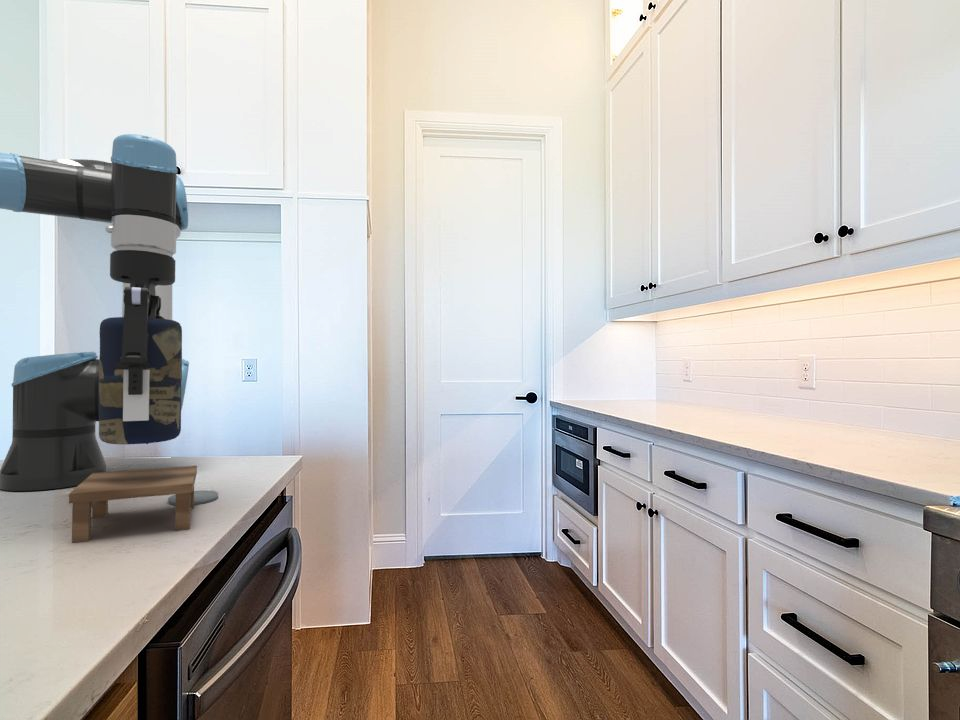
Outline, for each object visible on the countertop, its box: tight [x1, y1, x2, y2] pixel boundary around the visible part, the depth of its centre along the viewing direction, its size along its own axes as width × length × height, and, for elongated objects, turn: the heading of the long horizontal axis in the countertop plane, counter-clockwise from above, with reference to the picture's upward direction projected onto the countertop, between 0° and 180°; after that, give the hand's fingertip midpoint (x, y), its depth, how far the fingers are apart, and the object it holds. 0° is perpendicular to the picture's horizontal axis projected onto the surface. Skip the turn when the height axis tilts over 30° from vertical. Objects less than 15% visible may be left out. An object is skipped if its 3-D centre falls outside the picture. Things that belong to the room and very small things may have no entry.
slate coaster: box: [167, 490, 219, 506], centre depth 83 cm, size 7×7×1 cm
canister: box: [98, 315, 183, 446], centre depth 71 cm, size 10×10×18 cm
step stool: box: [68, 465, 198, 544], centre depth 71 cm, size 13×13×6 cm
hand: (141, 416), depth 71 cm, fingers closed on canister, 9 cm apart
